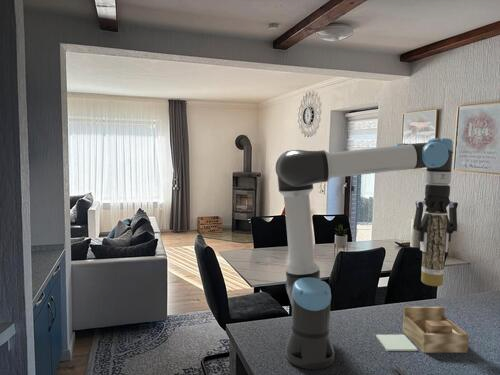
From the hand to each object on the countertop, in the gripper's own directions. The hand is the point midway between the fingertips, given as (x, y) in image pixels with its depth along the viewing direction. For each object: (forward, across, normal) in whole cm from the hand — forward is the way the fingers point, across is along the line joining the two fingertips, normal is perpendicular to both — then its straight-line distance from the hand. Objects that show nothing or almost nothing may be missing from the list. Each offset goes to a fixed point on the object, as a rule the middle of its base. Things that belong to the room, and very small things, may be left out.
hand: (433, 250), depth 128 cm
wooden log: (+12, 0, 0) cm, 12 cm away
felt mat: (+31, -13, -4) cm, 34 cm away
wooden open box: (+31, 0, -3) cm, 31 cm away
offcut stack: (+31, 0, -7) cm, 32 cm away
